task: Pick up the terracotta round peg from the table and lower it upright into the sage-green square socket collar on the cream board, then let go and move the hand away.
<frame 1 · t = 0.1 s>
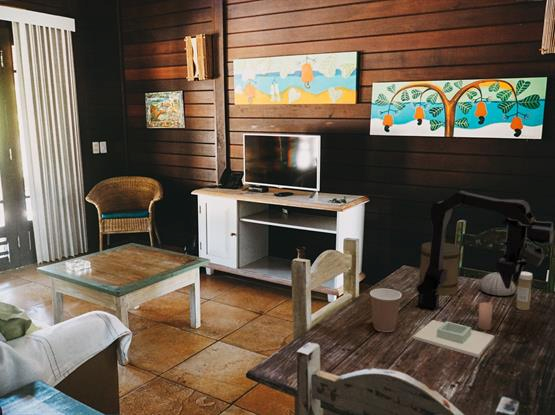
hand: (511, 284, 161), 14 cm above the table, tool pointing down, fingers open, 9 cm apart
wooden container: (437, 289, 200), on the table
socket board: (453, 338, 154), on the table
coffee cup: (384, 328, 163), on the table
sea urchin shell: (497, 293, 196), on the table
terracotta peg: (484, 327, 163), on the table
sprinkles bottle: (522, 308, 179), on the table
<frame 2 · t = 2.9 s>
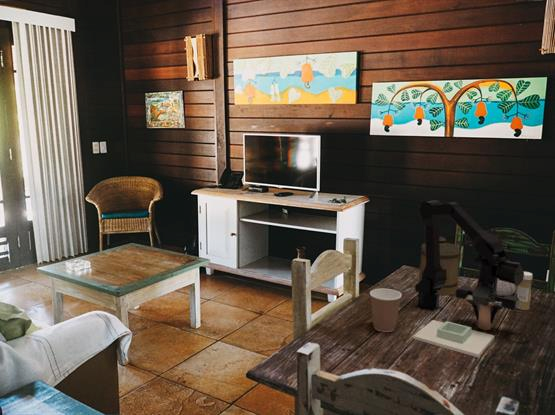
hand: (484, 321, 163), 2 cm above the table, tool pointing down, fingers closed on terracotta peg, 4 cm apart
terracotta peg: (484, 327, 163), on the table, touching gripper
everything else where it was.
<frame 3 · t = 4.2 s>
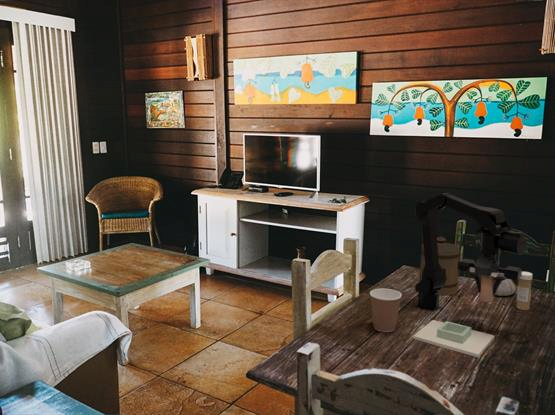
hand: (486, 294, 161), 12 cm above the table, tool pointing down, fingers closed on terracotta peg, 4 cm apart
terracotta peg: (486, 299, 161), point 10 cm above the table, touching gripper
everything else where it was.
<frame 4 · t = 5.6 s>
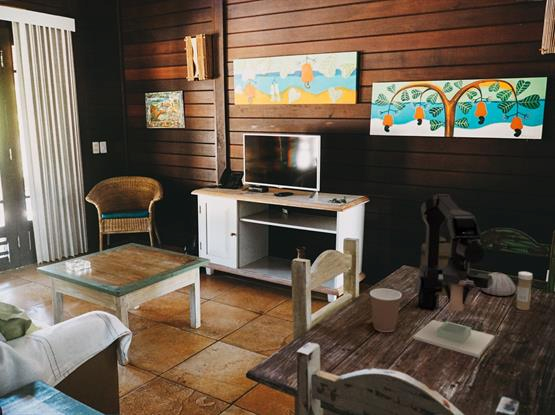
hand: (456, 302, 152), 12 cm above the table, tool pointing down, fingers closed on terracotta peg, 4 cm apart
terracotta peg: (456, 308, 153), point 10 cm above the table, touching gripper
everything else where it was.
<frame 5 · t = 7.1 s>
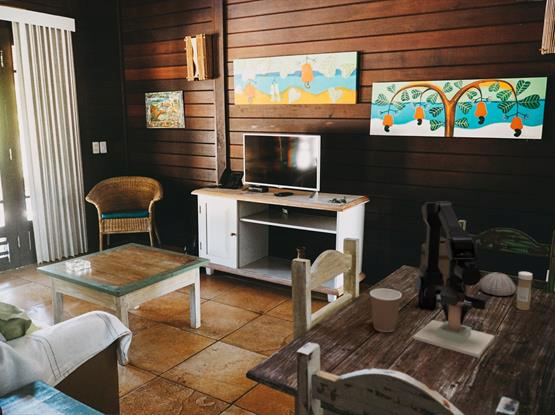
hand: (454, 322, 154), 5 cm above the table, tool pointing down, fingers closed on terracotta peg, 4 cm apart
terracotta peg: (454, 328, 154), point 3 cm above the table, touching gripper
everything else where it was.
when the fingers open (4 cm above the table, at t = 8.4 s): terracotta peg drops 1 cm, resting on socket board.
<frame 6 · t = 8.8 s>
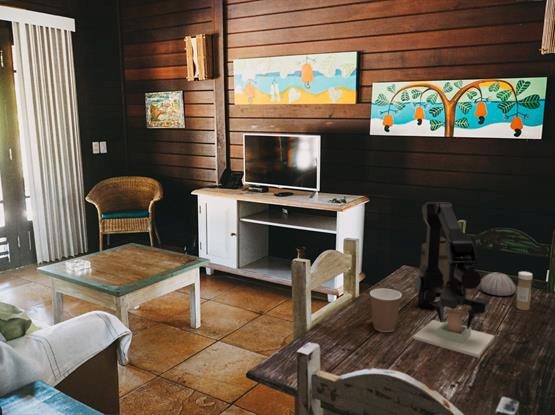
hand: (454, 325, 154), 4 cm above the table, tool pointing down, fingers open, 8 cm apart
terracotta peg: (453, 335, 154), point 1 cm above the table, touching socket board
everything else where it was.
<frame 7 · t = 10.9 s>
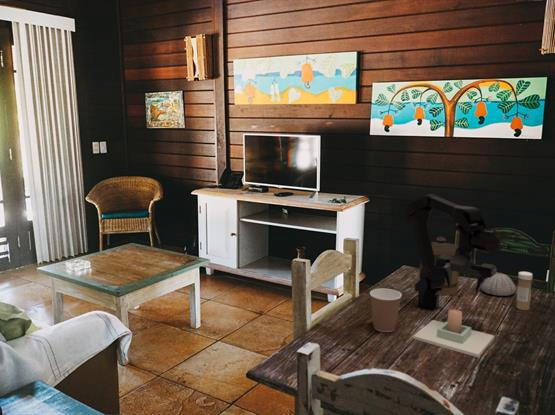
hand: (462, 290, 165), 12 cm above the table, tool pointing down, fingers open, 9 cm apart
nothing on the table moved.
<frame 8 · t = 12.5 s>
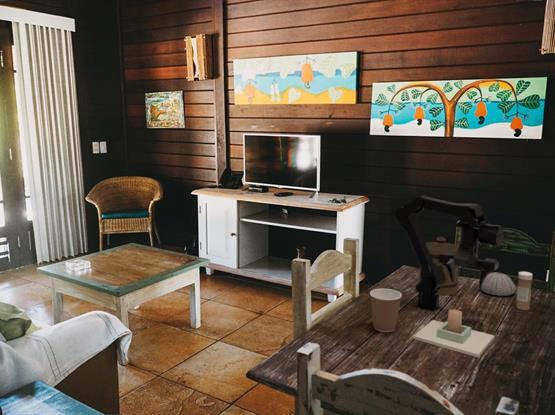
hand: (466, 284, 169), 12 cm above the table, tool pointing down, fingers open, 9 cm apart
nothing on the table moved.
at the end: terracotta peg 0.0 cm off-centre on the socket board, point 1.0 cm above the socket board's base; terracotta peg tilted 0°; the gripper is holding nothing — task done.
